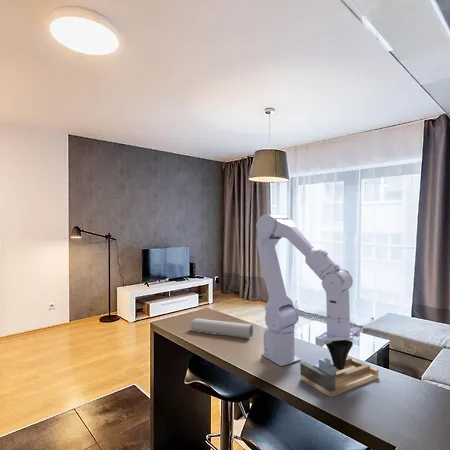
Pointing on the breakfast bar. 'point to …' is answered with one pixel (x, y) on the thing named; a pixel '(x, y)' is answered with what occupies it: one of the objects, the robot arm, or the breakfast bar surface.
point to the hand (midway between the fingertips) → (338, 368)
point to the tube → (223, 328)
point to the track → (338, 377)
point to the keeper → (326, 366)
